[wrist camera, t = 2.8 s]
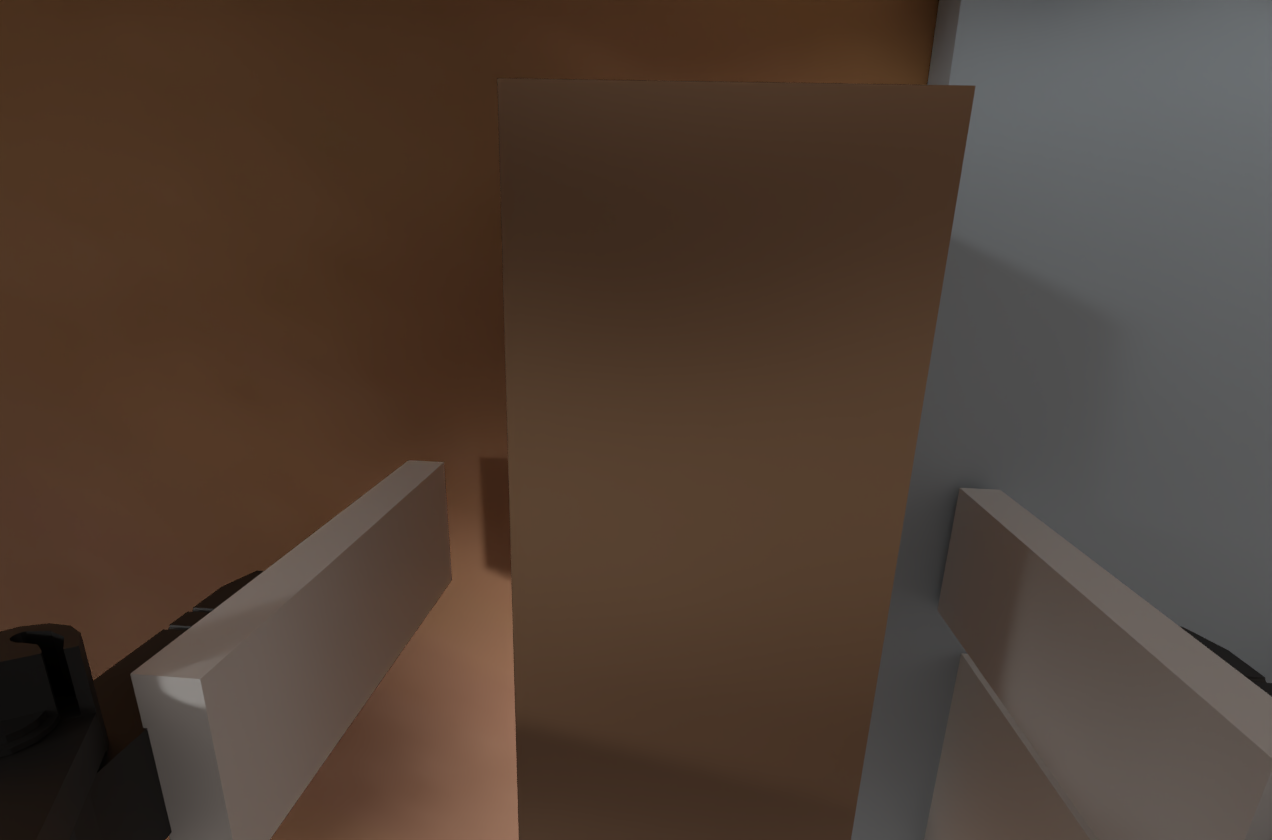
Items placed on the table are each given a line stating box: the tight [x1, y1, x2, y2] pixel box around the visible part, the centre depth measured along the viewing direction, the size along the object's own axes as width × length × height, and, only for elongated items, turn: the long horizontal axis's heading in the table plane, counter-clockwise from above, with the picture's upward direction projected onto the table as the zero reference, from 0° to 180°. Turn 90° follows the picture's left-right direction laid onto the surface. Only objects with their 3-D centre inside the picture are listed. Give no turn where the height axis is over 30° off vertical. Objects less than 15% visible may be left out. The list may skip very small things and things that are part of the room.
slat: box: [497, 78, 976, 840], centre depth 10 cm, size 14×4×7 cm, turn 178°
